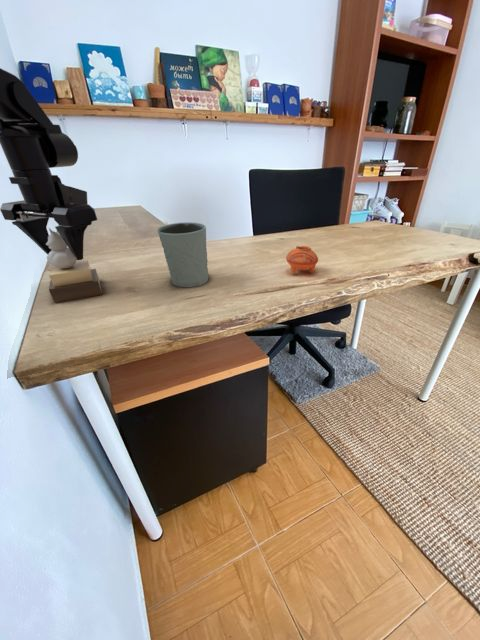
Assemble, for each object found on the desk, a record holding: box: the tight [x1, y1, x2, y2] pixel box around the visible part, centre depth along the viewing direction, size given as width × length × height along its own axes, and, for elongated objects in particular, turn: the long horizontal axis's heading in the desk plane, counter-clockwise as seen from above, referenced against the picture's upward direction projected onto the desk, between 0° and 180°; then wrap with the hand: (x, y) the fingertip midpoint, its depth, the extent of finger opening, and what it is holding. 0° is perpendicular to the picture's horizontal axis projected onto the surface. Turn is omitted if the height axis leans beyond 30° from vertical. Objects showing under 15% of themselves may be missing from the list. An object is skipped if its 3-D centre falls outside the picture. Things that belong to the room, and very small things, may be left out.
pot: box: [285, 245, 319, 275], centre depth 72 cm, size 8×8×7 cm
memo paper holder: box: [48, 259, 103, 304], centre depth 64 cm, size 9×9×6 cm
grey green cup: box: [157, 221, 209, 288], centre depth 66 cm, size 10×10×12 cm
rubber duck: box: [46, 227, 78, 269], centre depth 60 cm, size 5×7×8 cm
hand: (65, 257), depth 61 cm, fingers open, 8 cm apart
